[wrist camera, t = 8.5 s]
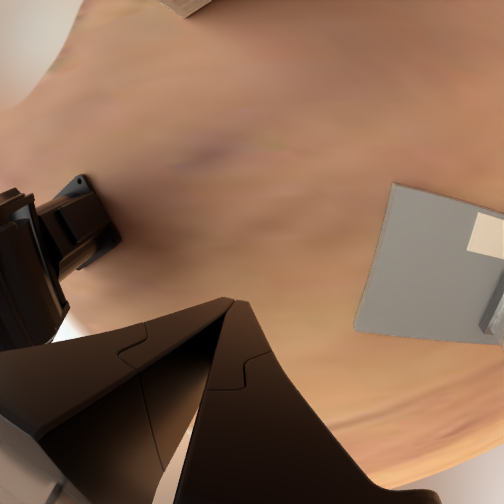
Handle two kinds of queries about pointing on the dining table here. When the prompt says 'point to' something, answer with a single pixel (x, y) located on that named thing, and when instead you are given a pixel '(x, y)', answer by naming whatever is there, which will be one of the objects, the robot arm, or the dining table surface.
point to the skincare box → (184, 6)
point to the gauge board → (433, 268)
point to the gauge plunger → (495, 314)
